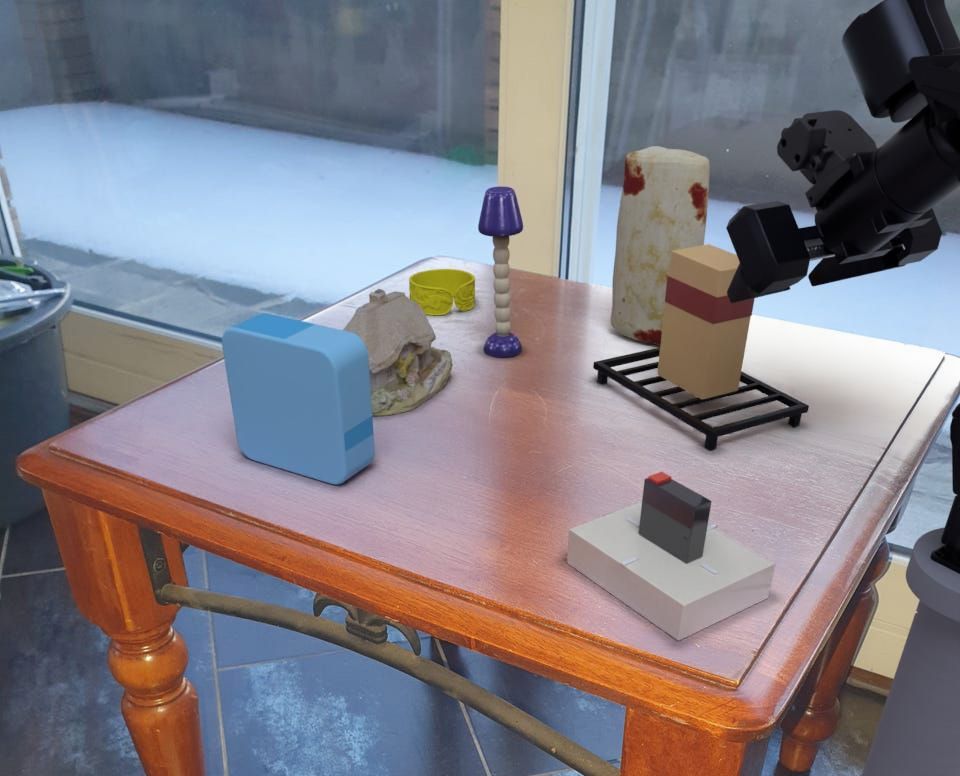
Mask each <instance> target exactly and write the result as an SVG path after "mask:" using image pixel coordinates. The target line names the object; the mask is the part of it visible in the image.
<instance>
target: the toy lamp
mask: <svg viewBox="0 0 960 776" xmlns="http://www.w3.org/2000/svg"><path fill="white" fill-rule="evenodd" d="M477 229H478V233H479V234H480V235H483V236H485V237H492V245H493V247H494V248H493V250H492V258H493V261H494V264H493V268H492V271H493V272H492V273H493V275H494V278H493V289H494V295H493V302H494V305H495V308H494V318H495V323H494V324H495V325H494V330H495V332H494V333H492V334H490V335H488V337H487V338H486V340H485V342H484V345H483V352H484V353H485V354H486V355H488V356H490V357H495V358H512V357H516V356H517V355H519V354H521V352H522V351H523V347H522V342H521V340H520V339H519V337H518V336H516V334H514V333H512V332H511V329H512V324H511V322H510V319H511V315H512V314H511V308H510V304H511V295H510V288H511V281H510V278H509V276H510V273H511V272H510V270H511V269H510V263H509V260H510V249H509V245H510V237H512V236H516V235H518V234H520V233H522V232H523V230H524V222H523V218H522V214H521V210H520V205H519V202H518V198H517V195H516V192H515V189H514V188H513V187H510V186H493V187H489V188H488V189H486V190H485V193H484V196H483V200H482V205H481V211H480V215H479V219H478V225H477Z"/></svg>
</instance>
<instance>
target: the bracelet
mask: <svg viewBox="0 0 960 776" xmlns="http://www.w3.org/2000/svg"><path fill="white" fill-rule="evenodd" d="M408 284H409V286H408V290H409V299H410V300H412V301H415V302H417V303H418V304H419V305H420V307H421V308H422V309H423V311H424V313H425V315H426V316H428V315H429V316H445V315H446V314H448V313H449V312H450V311H451V309H452V308H453V306H454V305H455V307H456V308H457V309H458V310H460V311H462V312H466V311H469V310H472V309H473V308H475V305H476V302H475V298H476V276H475V275H474V274H472V273H471V272H469V271H466V270H462V269H457V268H456V269H455V268H437V269H429V270H423V271H419V272H416V273H414V274H412V275H411V276H410V277H409V278H408Z"/></svg>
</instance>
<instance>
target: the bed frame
mask: <svg viewBox="0 0 960 776" xmlns="http://www.w3.org/2000/svg"><path fill="white" fill-rule="evenodd" d="M659 353H660V346H659V347H655V348H651V349H646V350H642V351H637V352H632V353H628V354H623V355H619V356H615V357H609V358H605V359H601V360H597V361H593V364H592V365H593V367H592V368H593V369H594V370H595V371H597V377H596V378H597V379H596V382H597V384H599V385H607V384H608V380H609V379H611V380H612V381H614V382H615V383H617V384H619V385H620V386H622V387H624V388H625V389H627V390H629V391H631V392H632V393H634V394H636V395H638V396H639V397H641V398H643V399H644V400H646V401H647V402H649V403H651V404H653V405H655V406H656V407H658V408H659V409H661V410H663V411H665V412H666V413H668V414H669V415H671V416H673V417H674V418H676V419H678V420H680V421H681V422H683V423H684V424H686V425H688V426H689V427H691V428H693V429H694V430H696V431H698V432H700V433H701V434H703V435H705V439H704V446H703V447H704V449H706V450H707V451H709V452H710V451H713V450H717V446H718V438H719V437H722V436H727V435H730V434H734V433H737V432H740V431H745V430H748V429H751V428H755V427H759V426H764V425H767V424H770V423H773V422H778V421H781V420H785V419H788V421H787V425H788V426H790V427H791V428H796V427H800V424H801V419H802V415H804V414H806V413H808V412H809V409H810V405H809V404H807V403H805V402H803V401H801V400H799V399H797V398H795V397H793V396H791V395H789V394H787V393H785V392H783V391H782V390H779V389H777V388H776V387H774V386H771V385H770V384H767V383H765V382H764V381H762V380H759V378H756V377H754V376H751V375H750V374H748V373H746V372H744V371H742V370H741V376H740V382H741V383H742V384H744V385H741V386H739V388H738V391H735V392H731V393H727V394H723V395H719V396H715V397H711V398H707V399H703V400H701V399H700V398H698V397H694V398H690V399H685V400H681V401H677V402H674V403H672V402H671V401H669V400H667V399H666V398H665V397H668V396H671V395H672V396H673V395H676V394H680V393H684V392H686V391H685V390H684V389H682V388H680V387H678V386H674V387H669V388H666V389H665V388H664V389H660V390H657V391H652V390H650V389H648V388H646V386H649V385H653V384H658V383H662V382H666V381H667V382H668V380H666V379H664V378H662V377H660V376H659V375H656V376H653V377H647V378H644V379H639V380H635V381H634V380H633V379H631V378H629V377H628V376H631V375H635V374H638V373H642V372H648V371H652V370H656V369H657V370H658V362H659V361H655V362H651V363H645V364H641V365H637V366H633V367H629V368H623V369H620V370H615V369H614V367H619V366H624V365H627V364H632V363H637V362H640V361H645V360H650V359H654V358H659ZM740 382H739V383H740ZM755 390H756V391H757V392H760V393H761V394H764V395H765V396H762V397H759V398H754V399H751V400H747V401H743V402H740V403H735V404H731V405H728V406H724V407H720V408H716V409H713V410H708V411H705V412H701V413H697V414H691V413H690V412H688V411H686V410H684V409H685V408H688V407H692V406H696V405H701V404H705V403H708V402H713V401H716V400H721V399H724V398H728V397H732V396H736V395H740V394H744V393H748V392H752V391H755ZM663 397H664V398H663ZM776 401H777V402H779V403H781V404H782V405H784V406H786V407H784V408H781V409H777V410H773V411H769V412H766V413H762V414H758V415H754V416H750V417H747V418H743V419H740V420H739V419H738V420H735V421H732V422H728V423H724V424H720V425H717V426H711V425H710V424H708V423H706V422H705V421H704V420H708V419H712V418H716V417H720V416H724V415H727V414H731V413H735V412H739V411H743V410H746V409H751V408H755V407H757V406H761V405H766V404H770V403H772V402H773V403H774V402H776Z"/></svg>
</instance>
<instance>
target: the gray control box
mask: <svg viewBox="0 0 960 776" xmlns="http://www.w3.org/2000/svg"><path fill="white" fill-rule="evenodd" d="M643 482H644V483H643V491H642V499H641V502H642V507H641V515H640V524H639V534H640V535H642V536H643V537H645V538H647V539H648V540H650V541H651V542H653V543H655V544H656V545H658V546H659V547H661V548H663V549H664V550H666V551H667V552H669V553H671V554H672V555H674V556H675V557H677V558H679V559H680V560H682V561H683V562H685V563H689V562H691V561H693V560H696V559H698V558H700V557H702V556H703V551H704V544H705V538H706V532H707V526H708V525H709V520H710V512H711V507H712V503H713V502H712V500H710V499H709V498H708V497H706V496H703V495H701V494H699V493H698V492H696V491H694V490H693V489H691V488H689V487H687V486H685V485H684V484H681V483H680V482H678V481H677V480H674V479H673V478H672V476H671V475H669V474H667V473H665V472H664V471H659V472H656V473H654V474H651V475H649V476H648V477H646V478H644V481H643Z"/></svg>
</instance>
